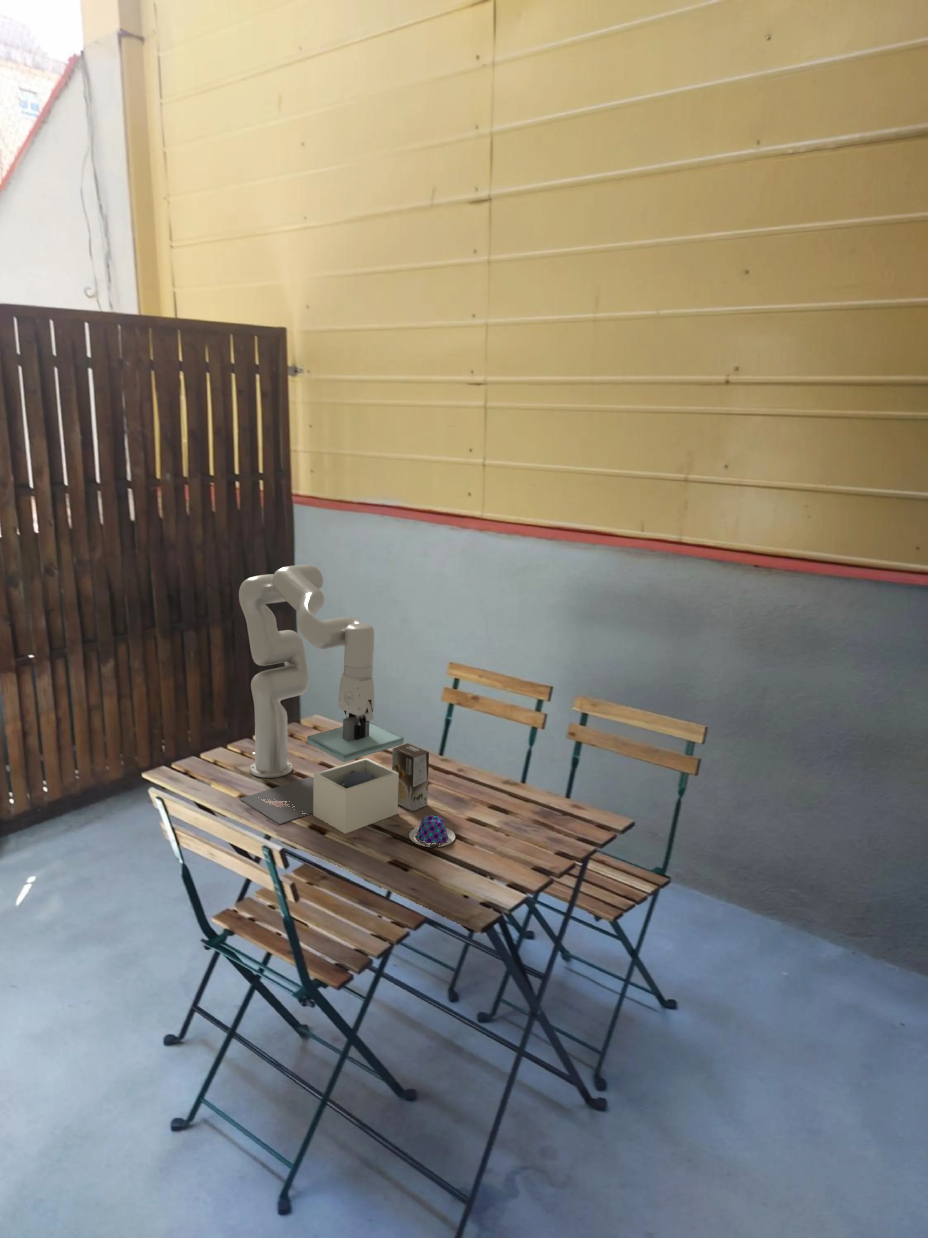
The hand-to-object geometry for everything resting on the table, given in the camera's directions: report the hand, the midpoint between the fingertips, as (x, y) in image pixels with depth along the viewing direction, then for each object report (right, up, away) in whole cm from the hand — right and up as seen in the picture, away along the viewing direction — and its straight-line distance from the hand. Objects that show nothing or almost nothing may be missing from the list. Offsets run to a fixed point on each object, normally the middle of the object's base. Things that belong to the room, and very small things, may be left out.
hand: (355, 735), depth 222 cm
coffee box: (+13, -21, +13) cm, 28 cm away
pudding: (+21, -26, -6) cm, 34 cm away
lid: (0, -2, +1) cm, 2 cm away
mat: (-18, -20, +12) cm, 29 cm away
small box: (-1, -22, +5) cm, 23 cm away
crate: (-1, -22, +5) cm, 23 cm away
